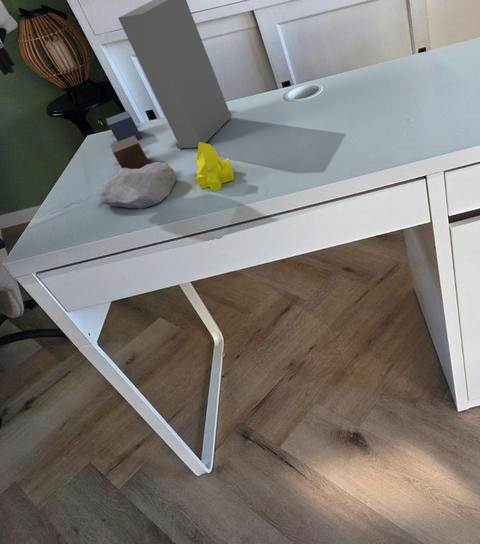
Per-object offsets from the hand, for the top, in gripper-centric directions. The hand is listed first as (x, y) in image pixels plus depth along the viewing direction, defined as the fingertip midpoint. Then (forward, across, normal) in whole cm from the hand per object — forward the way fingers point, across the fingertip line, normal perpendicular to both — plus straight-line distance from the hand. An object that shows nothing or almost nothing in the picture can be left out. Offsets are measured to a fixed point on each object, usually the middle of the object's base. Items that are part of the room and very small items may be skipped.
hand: (9, 72), depth 87 cm
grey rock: (+21, +10, -22) cm, 32 cm away
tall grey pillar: (+21, +27, -5) cm, 35 cm away
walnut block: (+21, +11, -8) cm, 25 cm away
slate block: (+21, +12, +9) cm, 26 cm away
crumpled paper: (+21, +23, -28) cm, 42 cm away
